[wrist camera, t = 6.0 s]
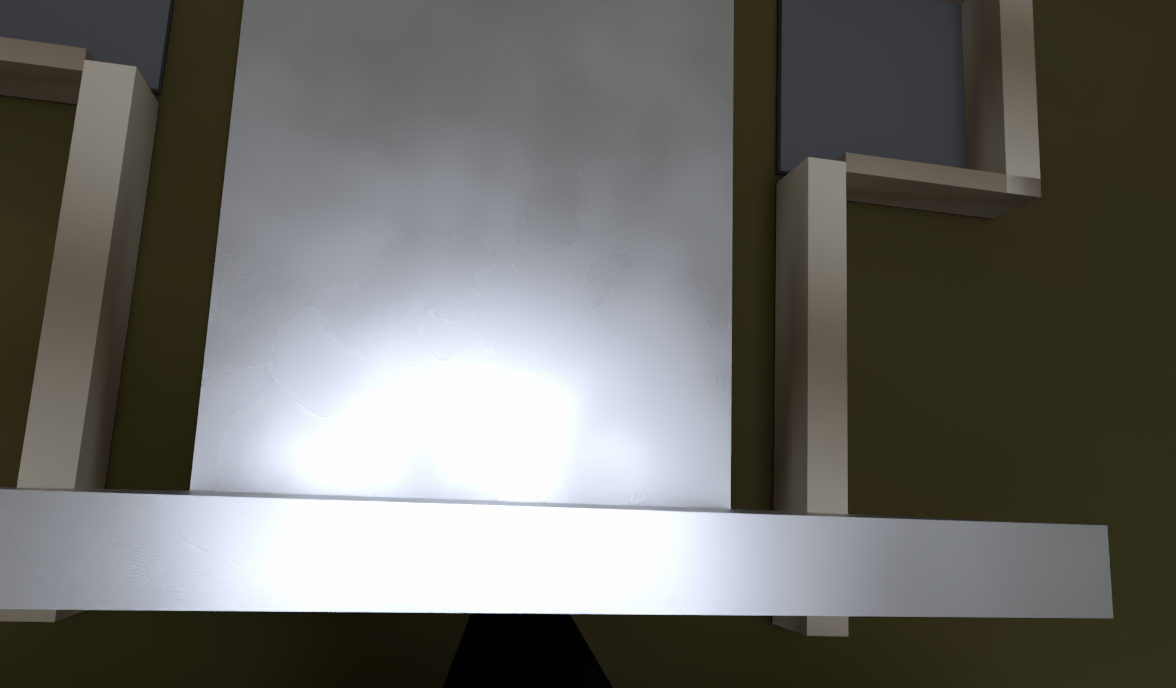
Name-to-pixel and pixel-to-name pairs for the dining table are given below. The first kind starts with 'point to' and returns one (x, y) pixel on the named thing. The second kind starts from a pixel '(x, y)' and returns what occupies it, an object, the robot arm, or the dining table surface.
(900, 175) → the trap lane
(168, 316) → the dining table surface
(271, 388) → the bookend
